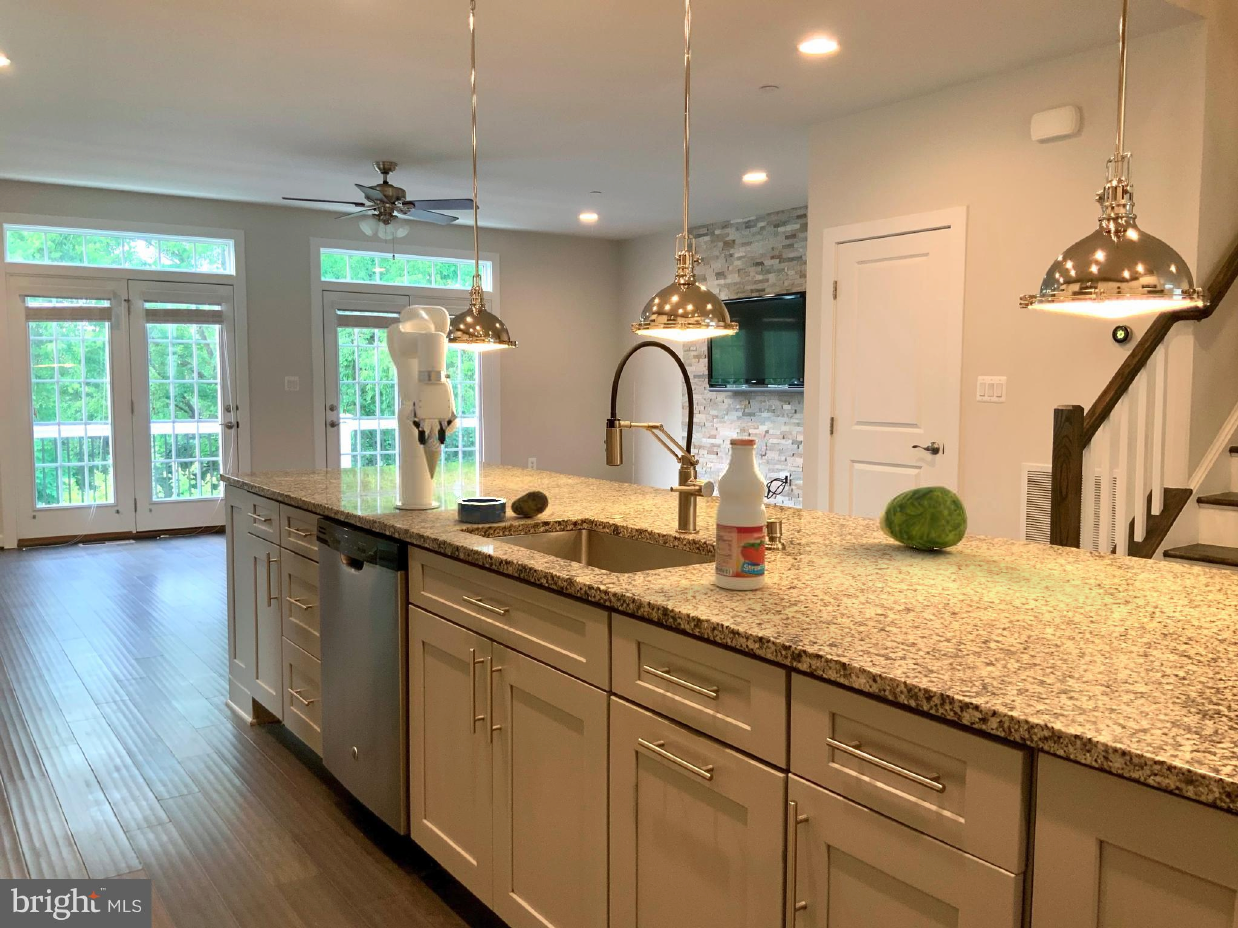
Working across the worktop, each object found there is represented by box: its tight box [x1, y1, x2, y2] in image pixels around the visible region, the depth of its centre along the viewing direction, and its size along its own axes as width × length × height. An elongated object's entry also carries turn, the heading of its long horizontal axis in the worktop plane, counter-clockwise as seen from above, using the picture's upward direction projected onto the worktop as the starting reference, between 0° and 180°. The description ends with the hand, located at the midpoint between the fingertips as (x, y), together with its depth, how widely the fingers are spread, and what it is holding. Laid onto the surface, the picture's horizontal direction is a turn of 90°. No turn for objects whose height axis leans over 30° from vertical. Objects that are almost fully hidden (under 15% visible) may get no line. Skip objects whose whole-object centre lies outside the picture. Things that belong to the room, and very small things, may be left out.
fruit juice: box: [714, 438, 767, 591], centre depth 176 cm, size 9×9×28 cm
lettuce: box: [878, 485, 968, 552], centre depth 220 cm, size 16×21×15 cm
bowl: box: [456, 497, 507, 524], centre depth 257 cm, size 13×13×6 cm
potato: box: [510, 490, 550, 518], centre depth 263 cm, size 8×13×8 cm, turn 27°
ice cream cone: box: [423, 426, 443, 480], centre depth 255 cm, size 5×5×15 cm
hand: (431, 443), depth 254 cm, fingers closed on ice cream cone, 4 cm apart
